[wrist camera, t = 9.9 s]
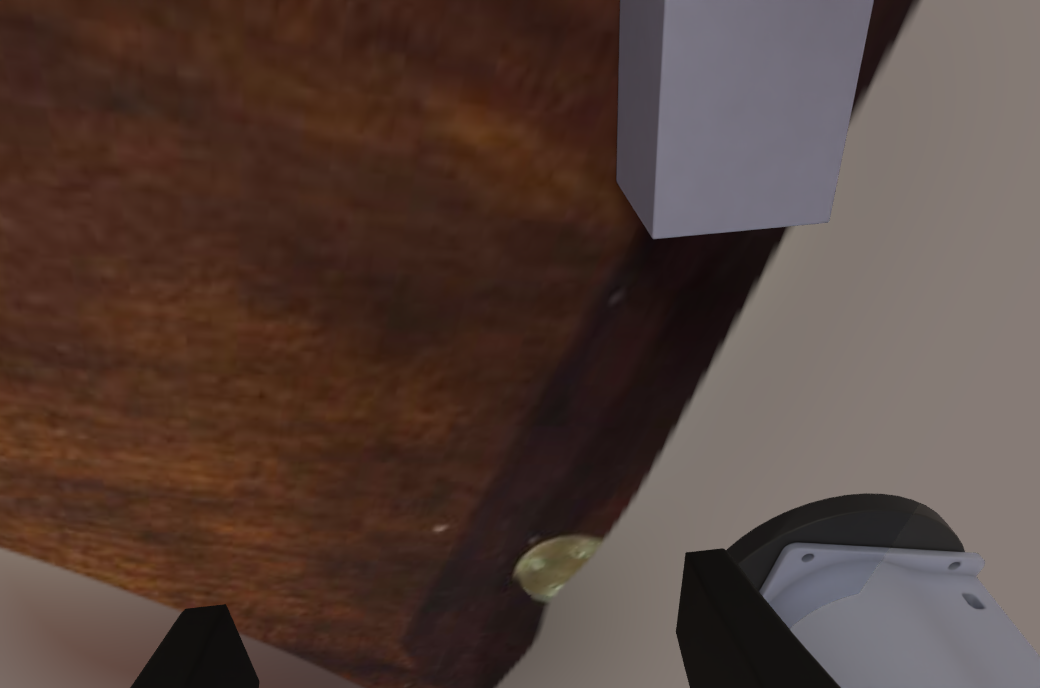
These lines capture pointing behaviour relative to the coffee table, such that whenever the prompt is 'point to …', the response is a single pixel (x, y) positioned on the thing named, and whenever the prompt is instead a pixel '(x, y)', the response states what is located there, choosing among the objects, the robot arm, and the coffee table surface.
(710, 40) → the gray rectangular block
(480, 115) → the coffee table surface
